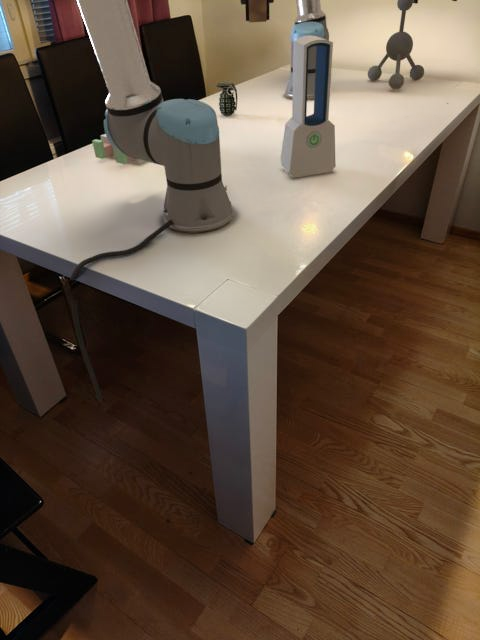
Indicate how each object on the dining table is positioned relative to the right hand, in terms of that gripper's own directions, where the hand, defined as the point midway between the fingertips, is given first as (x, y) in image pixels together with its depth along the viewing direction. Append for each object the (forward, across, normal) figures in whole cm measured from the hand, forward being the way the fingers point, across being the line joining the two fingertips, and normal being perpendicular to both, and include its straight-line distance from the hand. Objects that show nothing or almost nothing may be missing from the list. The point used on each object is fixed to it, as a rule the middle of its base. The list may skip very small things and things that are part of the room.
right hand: (434, 2), depth 170 cm
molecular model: (+28, +6, -9) cm, 30 cm away
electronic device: (+28, +54, +78) cm, 99 cm away
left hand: (-5, +65, +62) cm, 90 cm away
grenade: (+28, +74, +23) cm, 82 cm away
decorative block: (+28, +100, +55) cm, 117 cm away
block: (-4, +65, +62) cm, 90 cm away
